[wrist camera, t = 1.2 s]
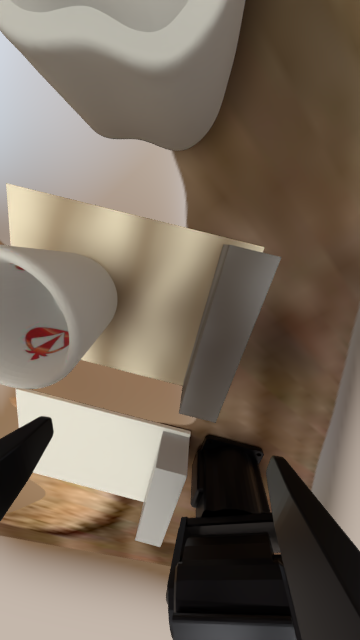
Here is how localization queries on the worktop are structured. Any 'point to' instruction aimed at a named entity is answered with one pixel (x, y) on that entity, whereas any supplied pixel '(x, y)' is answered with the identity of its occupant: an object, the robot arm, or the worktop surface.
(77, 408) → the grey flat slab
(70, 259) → the cup
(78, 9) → the lumpy-topped squat cylinder
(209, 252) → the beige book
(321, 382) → the worktop surface
